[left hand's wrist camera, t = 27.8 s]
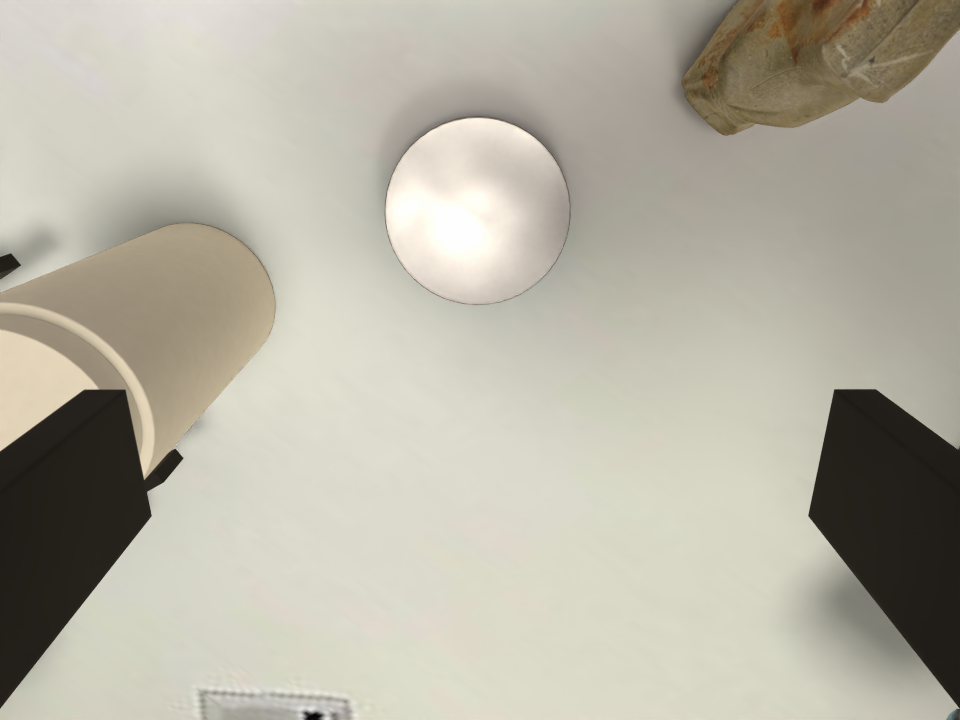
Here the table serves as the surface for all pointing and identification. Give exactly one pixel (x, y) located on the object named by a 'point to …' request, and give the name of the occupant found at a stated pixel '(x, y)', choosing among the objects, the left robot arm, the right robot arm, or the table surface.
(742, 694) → the table surface
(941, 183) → the table surface
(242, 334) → the jar
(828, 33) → the sculpture
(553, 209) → the lid
